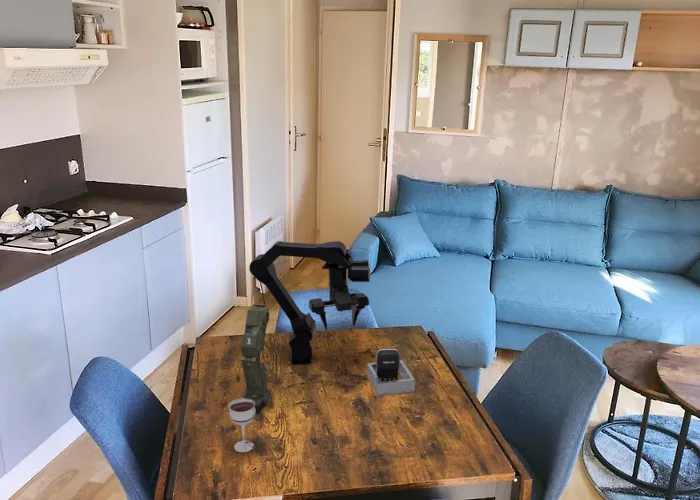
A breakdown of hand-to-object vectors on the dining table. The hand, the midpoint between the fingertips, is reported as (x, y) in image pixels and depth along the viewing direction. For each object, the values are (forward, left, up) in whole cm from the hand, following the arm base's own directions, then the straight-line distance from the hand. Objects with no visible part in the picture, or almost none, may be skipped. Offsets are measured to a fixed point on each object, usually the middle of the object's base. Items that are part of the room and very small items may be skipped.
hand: (339, 327), depth 191 cm
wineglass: (-33, -39, -13) cm, 53 cm away
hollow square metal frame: (+13, -16, -13) cm, 24 cm away
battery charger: (+12, -16, -13) cm, 24 cm away
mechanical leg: (-28, -18, -13) cm, 36 cm away
